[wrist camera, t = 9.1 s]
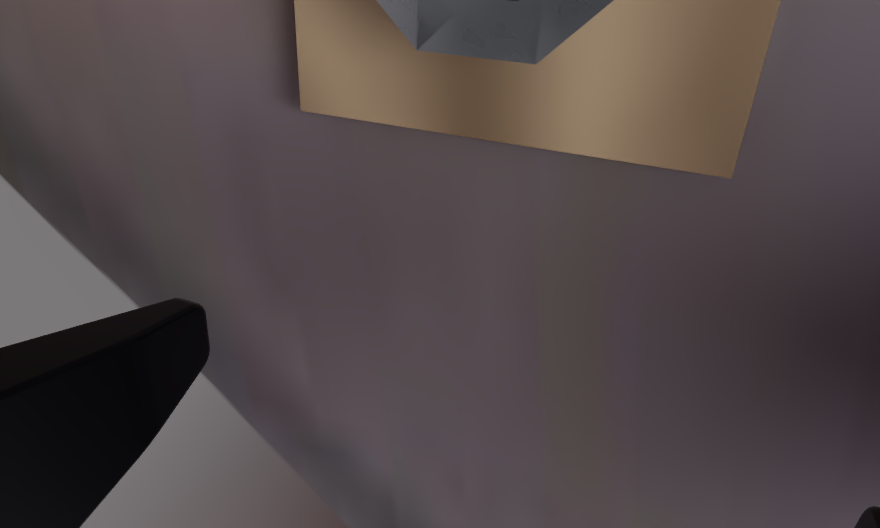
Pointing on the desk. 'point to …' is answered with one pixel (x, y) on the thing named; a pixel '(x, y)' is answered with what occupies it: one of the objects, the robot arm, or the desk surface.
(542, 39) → the ring
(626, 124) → the post block
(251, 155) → the desk surface
